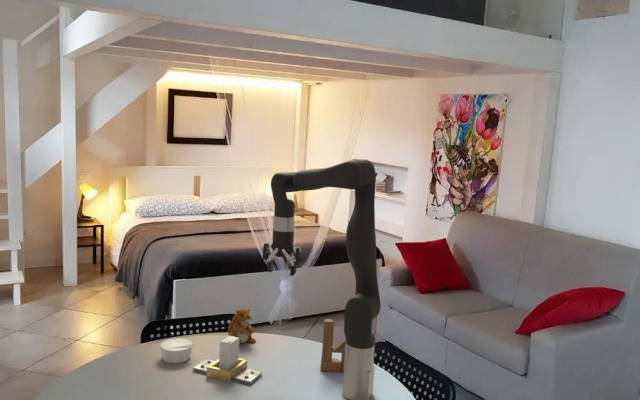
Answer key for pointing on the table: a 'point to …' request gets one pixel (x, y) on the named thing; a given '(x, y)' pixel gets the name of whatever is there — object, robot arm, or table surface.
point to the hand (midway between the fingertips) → (281, 273)
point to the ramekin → (176, 350)
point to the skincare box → (229, 353)
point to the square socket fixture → (235, 374)
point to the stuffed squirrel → (241, 326)
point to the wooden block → (331, 349)
